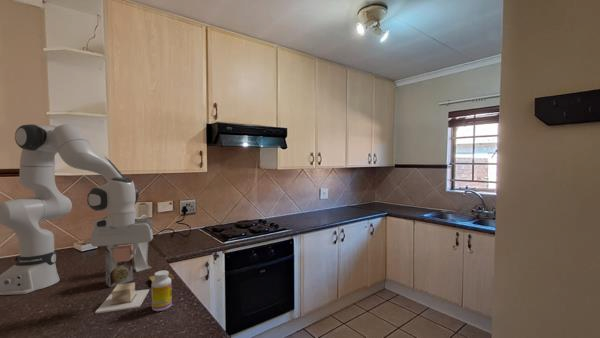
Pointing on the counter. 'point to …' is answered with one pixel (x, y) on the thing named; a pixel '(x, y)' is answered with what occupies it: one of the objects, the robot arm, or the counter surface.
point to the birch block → (123, 293)
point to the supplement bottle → (161, 291)
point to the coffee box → (117, 270)
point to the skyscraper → (141, 256)
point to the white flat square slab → (134, 303)
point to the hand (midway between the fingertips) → (123, 255)
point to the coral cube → (122, 253)
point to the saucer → (168, 276)
